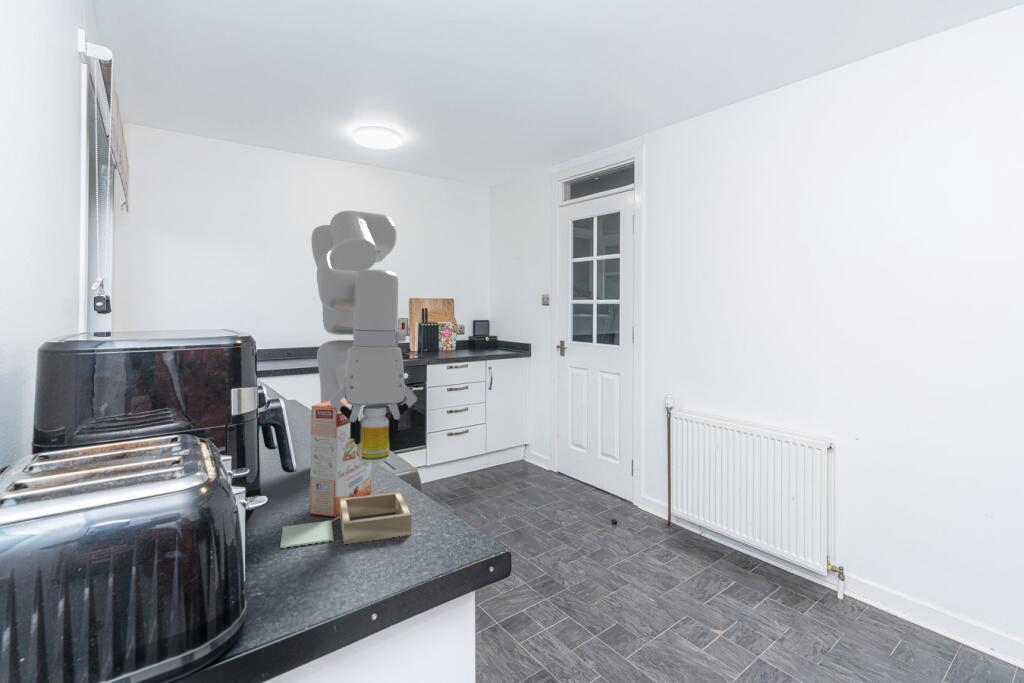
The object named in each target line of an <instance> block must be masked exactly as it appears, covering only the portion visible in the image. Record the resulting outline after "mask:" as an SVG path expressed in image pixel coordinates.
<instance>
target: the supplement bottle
mask: <svg viewBox="0 0 1024 683" xmlns="http://www.w3.org/2000/svg"><path fill="white" fill-rule="evenodd" d="M386 414H387V406H386V405H385V404H382V405H368V406H364V407H363V415H364V416H365V417H363V418H362V419H361V420H360V421H359V422H360V443H359V444H358V459H359V461H361V462H363V463H372V464H381V463H384V462H387V461H388V459H389V458H390V442H391V441H390V421H389V419H388V418H389V417H387V416H386Z"/></svg>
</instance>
